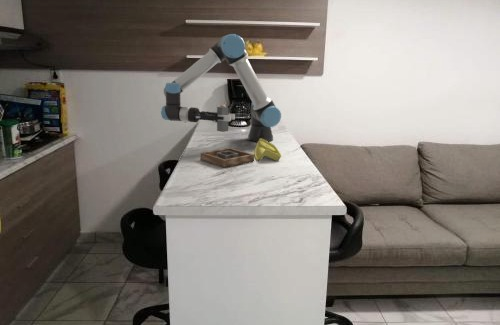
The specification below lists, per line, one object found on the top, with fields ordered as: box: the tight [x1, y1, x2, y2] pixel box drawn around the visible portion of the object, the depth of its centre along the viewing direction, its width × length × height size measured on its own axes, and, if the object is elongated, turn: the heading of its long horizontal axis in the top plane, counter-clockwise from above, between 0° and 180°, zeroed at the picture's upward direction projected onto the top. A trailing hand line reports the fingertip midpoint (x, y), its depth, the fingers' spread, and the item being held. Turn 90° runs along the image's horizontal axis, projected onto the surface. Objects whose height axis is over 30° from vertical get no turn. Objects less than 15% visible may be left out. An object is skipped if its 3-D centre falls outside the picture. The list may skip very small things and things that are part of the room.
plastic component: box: [253, 139, 282, 162], centre depth 194 cm, size 20×7×10 cm
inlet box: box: [199, 147, 255, 169], centre depth 184 cm, size 18×18×4 cm
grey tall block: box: [216, 104, 229, 133], centre depth 196 cm, size 4×4×13 cm
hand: (232, 117), depth 194 cm, fingers closed on grey tall block, 5 cm apart
